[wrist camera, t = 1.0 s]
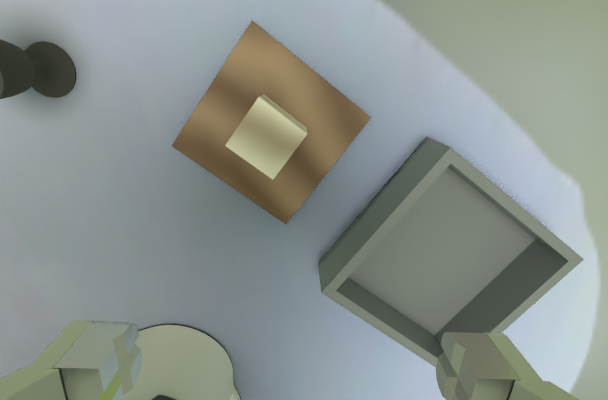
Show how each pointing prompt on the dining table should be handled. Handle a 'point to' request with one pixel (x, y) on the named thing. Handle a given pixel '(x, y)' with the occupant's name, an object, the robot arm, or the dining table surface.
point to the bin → (442, 255)
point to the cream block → (267, 136)
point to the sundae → (35, 70)
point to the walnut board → (288, 95)
